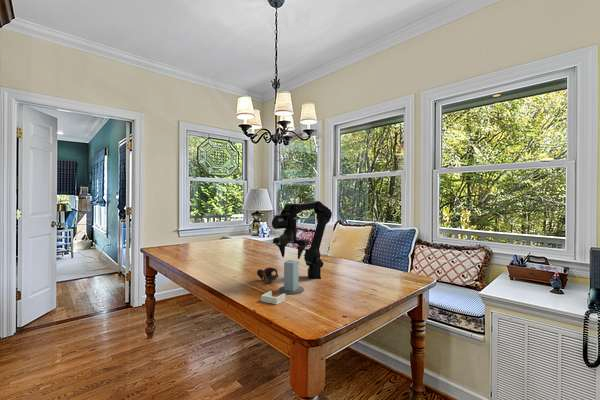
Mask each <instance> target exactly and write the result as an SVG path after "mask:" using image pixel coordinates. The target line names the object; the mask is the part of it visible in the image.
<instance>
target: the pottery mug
mask: <svg viewBox="0 0 600 400" xmlns="http://www.w3.org/2000/svg"><path fill="white" fill-rule="evenodd" d="M273 272H275V274H273ZM256 274H257V276H258V277H259V278H260V280H264V281H263V282H264V284H266V285H267V284H268V283H270V282H273V281H276V280H277V278H279V274H278V270H277V269H276V268H274V267H271V266H269V267H265V268H264V269H261V268H260V269H258V270H257V272H256Z"/></svg>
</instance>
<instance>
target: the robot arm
mask: <svg viewBox="0 0 600 400" xmlns="http://www.w3.org/2000/svg"><path fill="white" fill-rule="evenodd" d="M308 210H309V211H310V210H313V212H314V213H315V215H316V216H315V217H316V218H315V220H316V222H317V223H316V226H315V229H314V234H313V237H312V241H311V244H310V240H309V239H308V238H298V237H297V233H298V231H299V230H298V229H297V224H298V223H297V222H298V221H297V220H298V219H300V216H299V215H298V214H300V213H301V212H303V211H308ZM332 215H333V212H332V210H331V209H330V208H328V207H327V206H326V205H325V204H323V203H322V202H321V201H319V200H313V201H310V202H309V201H308V202H302V203H285V204H284V206H283V207H282V209H281V212H280V213H279V215H278V214H277V215H276V214H275V215H274V217H273V218H272V221H271V227H272V229H274V230H280V229H281V230H283V234H281V235H279V236H278V237H274V238H273V239H272V243H273V244H274V246H277V247H278V249H279V251H280V254H281V257H282V258H285V253H286V245H289V244H295V245H297V246H296V248H297V260H300V259H301V257H302V254H303V251H304V250H305V252H304V254H303V260H304V262H305V265H306V266H308V268H307V277H308V279H309V280H310V279H311V280H313V279H314V280H315V279H321V278H322V277H321V276H322V275H321V269H322V267H324V261H323V260H322V259H321V252H320V248H321V243H322V242H323V241H322V240H323V236H324V233H325V229H326V225H327V224H328V223H329V222H330V221H331V218H332ZM308 246H310V247H309V248H307V247H308ZM305 247H306V249H305Z"/></svg>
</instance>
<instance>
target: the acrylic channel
mask: <svg viewBox="0 0 600 400" xmlns="http://www.w3.org/2000/svg"><path fill="white" fill-rule="evenodd" d="M260 299H261V302H263V303H268V304H273V305H278V304H280V303H282V302H283V301H285V300H286V294H285V293H281V294H280V295H279V296H278V295H277V296H276V297H275V296H273V291H272V290H269V291H267V292H266V293H263V294H262V295H261V297H260Z"/></svg>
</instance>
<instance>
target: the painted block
mask: <svg viewBox="0 0 600 400" xmlns="http://www.w3.org/2000/svg"><path fill="white" fill-rule="evenodd" d="M283 286H284V290H288V291H295V290H296V289H298V286H299V261H298V260H291V259H289V260H286V261H284V262H283Z"/></svg>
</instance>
